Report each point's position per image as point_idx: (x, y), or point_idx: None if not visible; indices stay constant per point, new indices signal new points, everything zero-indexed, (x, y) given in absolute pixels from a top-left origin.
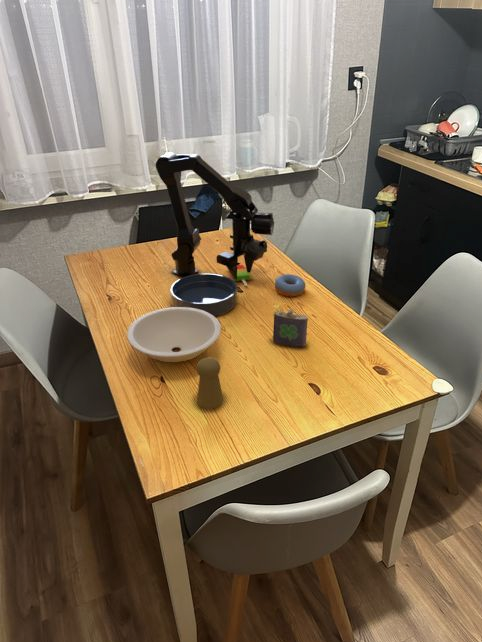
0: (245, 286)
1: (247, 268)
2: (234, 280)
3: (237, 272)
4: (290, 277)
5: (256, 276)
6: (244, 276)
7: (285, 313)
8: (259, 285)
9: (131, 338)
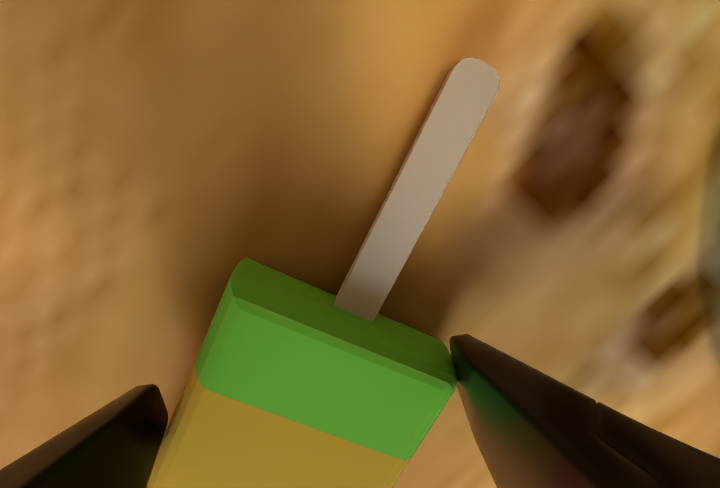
0: (494, 84)
1: (137, 462)
2: (448, 352)
3: (330, 462)
4: None
5: (102, 285)
6: (319, 318)
7: None
8: (239, 20)
9: None
